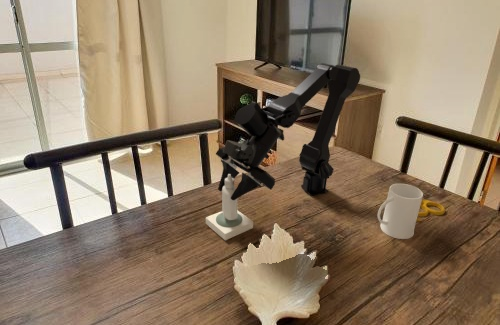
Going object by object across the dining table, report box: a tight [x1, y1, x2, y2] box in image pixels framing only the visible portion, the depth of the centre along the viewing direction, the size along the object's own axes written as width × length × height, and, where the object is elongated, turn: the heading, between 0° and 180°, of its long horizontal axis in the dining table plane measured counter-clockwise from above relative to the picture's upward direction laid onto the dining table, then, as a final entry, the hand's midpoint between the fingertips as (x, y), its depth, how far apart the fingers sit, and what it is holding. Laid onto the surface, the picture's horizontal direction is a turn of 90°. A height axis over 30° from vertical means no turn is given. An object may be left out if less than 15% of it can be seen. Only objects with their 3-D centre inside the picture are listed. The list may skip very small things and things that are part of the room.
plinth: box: [205, 209, 254, 241], centre depth 98 cm, size 9×9×2 cm
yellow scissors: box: [416, 198, 446, 222], centre depth 108 cm, size 17×2×10 cm
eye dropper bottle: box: [221, 174, 238, 220], centre depth 94 cm, size 4×6×12 cm
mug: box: [377, 183, 424, 240], centre depth 96 cm, size 12×8×12 cm
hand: (225, 194), depth 93 cm, fingers closed on eye dropper bottle, 5 cm apart
